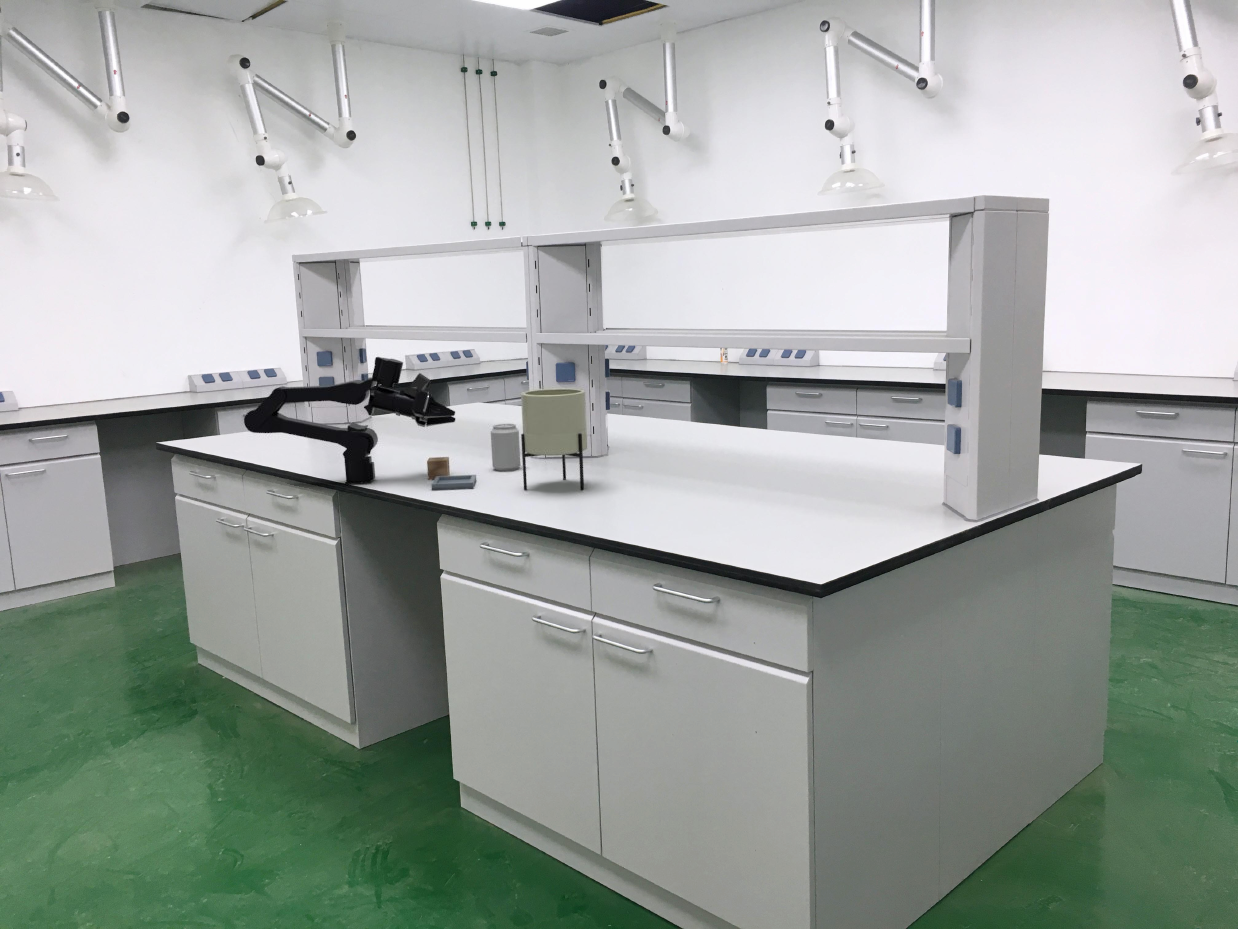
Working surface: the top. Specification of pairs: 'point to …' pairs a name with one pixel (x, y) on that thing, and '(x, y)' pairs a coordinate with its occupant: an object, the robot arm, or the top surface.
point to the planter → (554, 425)
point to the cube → (438, 467)
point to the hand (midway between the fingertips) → (455, 417)
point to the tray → (454, 482)
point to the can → (505, 447)
